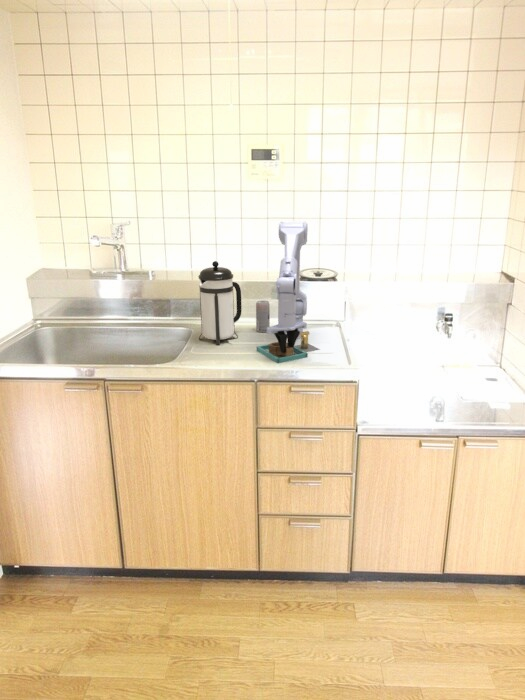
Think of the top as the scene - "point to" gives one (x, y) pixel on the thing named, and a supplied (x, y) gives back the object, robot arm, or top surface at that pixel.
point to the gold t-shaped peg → (304, 339)
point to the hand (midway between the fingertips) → (286, 351)
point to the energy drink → (262, 316)
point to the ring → (275, 349)
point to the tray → (300, 355)
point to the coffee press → (218, 303)
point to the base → (310, 348)
